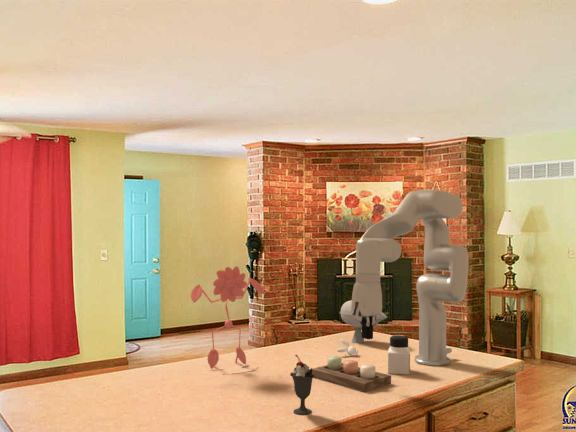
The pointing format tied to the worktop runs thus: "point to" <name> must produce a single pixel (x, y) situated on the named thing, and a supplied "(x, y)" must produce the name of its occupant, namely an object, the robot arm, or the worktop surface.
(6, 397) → the worktop surface
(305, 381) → the sundae
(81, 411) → the worktop surface
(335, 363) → the sage button
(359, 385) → the button board
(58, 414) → the worktop surface
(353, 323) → the jet engine
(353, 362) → the peach rounded dome
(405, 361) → the medicine bottle
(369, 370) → the cream egg
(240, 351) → the figurine
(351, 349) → the rabbit figurine
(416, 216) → the robot arm
